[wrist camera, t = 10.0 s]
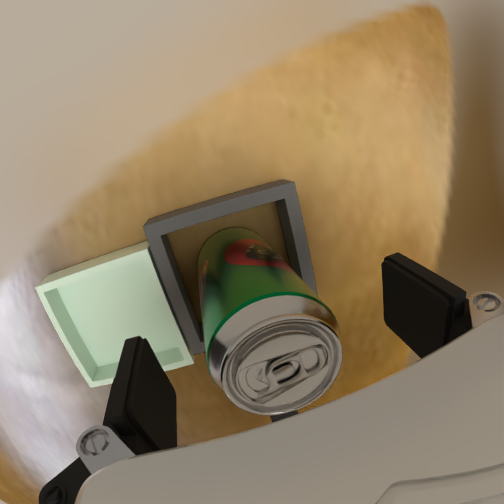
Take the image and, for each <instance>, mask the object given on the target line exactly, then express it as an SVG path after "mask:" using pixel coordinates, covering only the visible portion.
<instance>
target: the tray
mask: <svg viewBox="0 0 504 504" xmlns="http://www.w3.org/2000/svg"><path fill="white" fill-rule="evenodd" d="M35 288H36V291H37V293H38V295H39V297H40V299H41V301H42V304H43V306H44V308H45V310H46V312H47V314H48V316H49V318H50V320H51V322H52V324H53V325H54V327H55V329H56V331H57V333H58V335H59V337H60V338H61V340H62V342H63V344H64V346H65V347H66V349H67V351H68V352H69V354H70V356H71V358H72V359H73V361H74V362H75V364H76V366H77V367H78V369H79V371H80V372H81V374H82V375H83V377H84V378H85V380H86V381H87V383H88V384H89V386H90V387H91V388H92V387H97V386H102V385H107V384H112V383H113V379H114V377H115V375H116V371H117V367H118V364H119V360H120V356H121V353H122V349H123V345H124V342H125V340H126V339H129V338H132V337H136V336H141V337H142V339H144V338H146V339H147V340H148V342H149V344H150V346H151V348H152V350H153V351H154V353H155V355H156V357H157V359H158V361H159V363H160V365H161V367H162V368H163V370H164V371H168V370H172V369H176V368H180V367H184V366H188V365H191V364H194V355H193V353H192V351H191V349H190V346H189V344H188V342H187V340H186V337H185V335H184V333H183V330H182V328H181V326H180V323H179V321H178V319H177V316H176V314H175V311H174V309H173V306H172V304H171V301H170V299H169V296H168V294H167V291H166V289H165V286H164V284H163V281H162V278H161V276H160V273H159V270H158V268H157V265H156V262H155V260H154V257H153V254H152V251H151V249H150V246H149V243H148V240H147V241H144V242H141V243H138V244H135V245H132V246H129V247H126V248H123V249H120V250H117V251H114V252H111V253H108V254H105V255H102V256H99V257H97V258H94V259H91V260H88V261H85V262H82V263H80V264H77V265H74V266H71V267H69V268H66V269H63V270H60V271H58V272H55V273H52V274H50V275H48V276H47V277H46V278H45V279H44V280H43V281H42V282H41V283H40V284H39V285H37V286H36V287H35Z"/></svg>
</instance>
